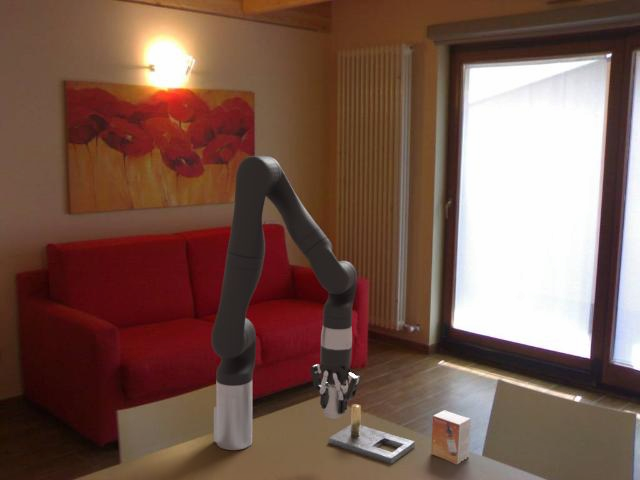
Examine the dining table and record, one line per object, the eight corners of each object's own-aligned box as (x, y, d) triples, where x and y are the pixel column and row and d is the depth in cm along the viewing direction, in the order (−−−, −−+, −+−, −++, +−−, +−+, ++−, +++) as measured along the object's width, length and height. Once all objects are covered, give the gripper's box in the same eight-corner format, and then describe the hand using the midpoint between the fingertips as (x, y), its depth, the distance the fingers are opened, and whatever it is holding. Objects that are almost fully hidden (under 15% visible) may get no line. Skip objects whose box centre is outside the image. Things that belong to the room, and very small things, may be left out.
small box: (430, 454, 175) (431, 415, 174) (442, 447, 179) (444, 409, 178) (457, 465, 170) (459, 424, 168) (469, 457, 174) (471, 418, 172)
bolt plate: (328, 443, 181) (329, 408, 179) (353, 428, 190) (354, 395, 189) (391, 464, 170) (392, 427, 168) (414, 447, 179) (415, 412, 178)
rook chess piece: (340, 420, 167) (341, 388, 166) (322, 418, 168) (323, 386, 167) (343, 413, 171) (344, 382, 170) (325, 411, 172) (327, 380, 171)
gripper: (303, 340, 168) (301, 407, 171) (352, 353, 160) (349, 423, 162) (321, 334, 174) (318, 398, 177) (369, 346, 166) (366, 413, 168)
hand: (333, 410), depth 169 cm, fingers closed on rook chess piece, 4 cm apart
